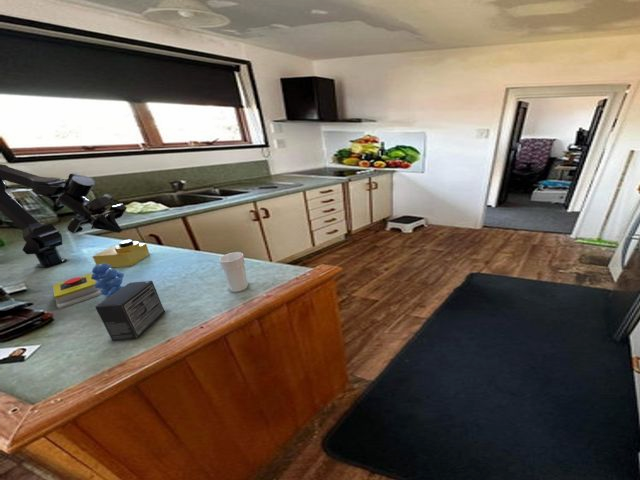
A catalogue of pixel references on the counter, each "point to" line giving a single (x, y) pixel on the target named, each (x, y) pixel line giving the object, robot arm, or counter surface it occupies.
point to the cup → (234, 271)
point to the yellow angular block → (122, 255)
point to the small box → (130, 310)
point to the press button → (126, 243)
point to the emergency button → (75, 290)
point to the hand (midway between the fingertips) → (120, 231)
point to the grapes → (107, 279)
